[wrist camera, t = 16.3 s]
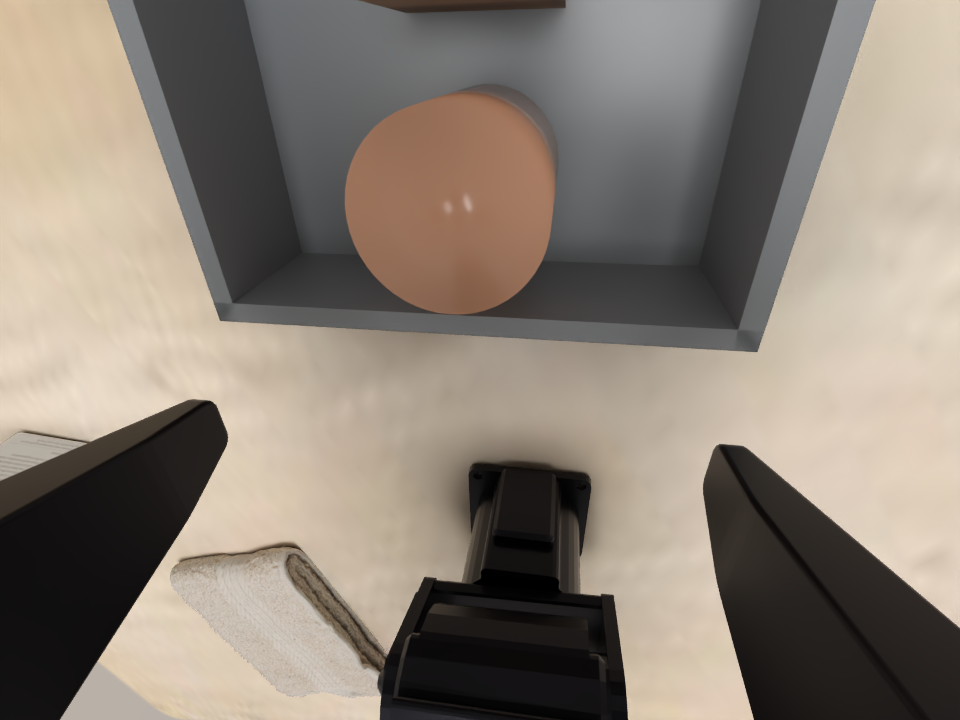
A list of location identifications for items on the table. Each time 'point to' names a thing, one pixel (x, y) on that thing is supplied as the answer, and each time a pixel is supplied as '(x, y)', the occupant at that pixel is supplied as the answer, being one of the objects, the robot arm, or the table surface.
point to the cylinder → (455, 198)
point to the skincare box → (30, 452)
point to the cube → (464, 5)
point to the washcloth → (284, 621)
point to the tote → (578, 131)
